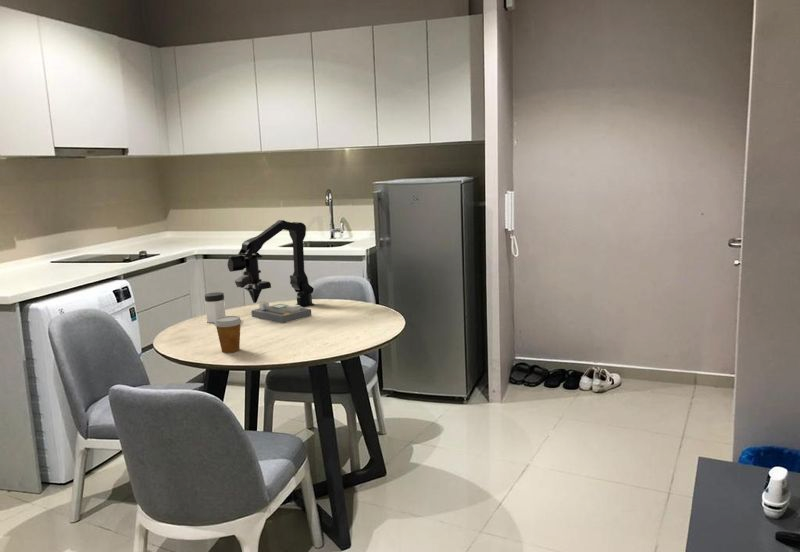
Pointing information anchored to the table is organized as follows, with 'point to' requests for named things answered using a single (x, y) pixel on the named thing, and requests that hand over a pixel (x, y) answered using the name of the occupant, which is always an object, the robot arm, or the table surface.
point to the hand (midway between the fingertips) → (255, 302)
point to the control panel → (281, 314)
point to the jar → (214, 306)
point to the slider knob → (264, 305)
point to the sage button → (279, 306)
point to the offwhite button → (293, 308)
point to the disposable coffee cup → (229, 333)
